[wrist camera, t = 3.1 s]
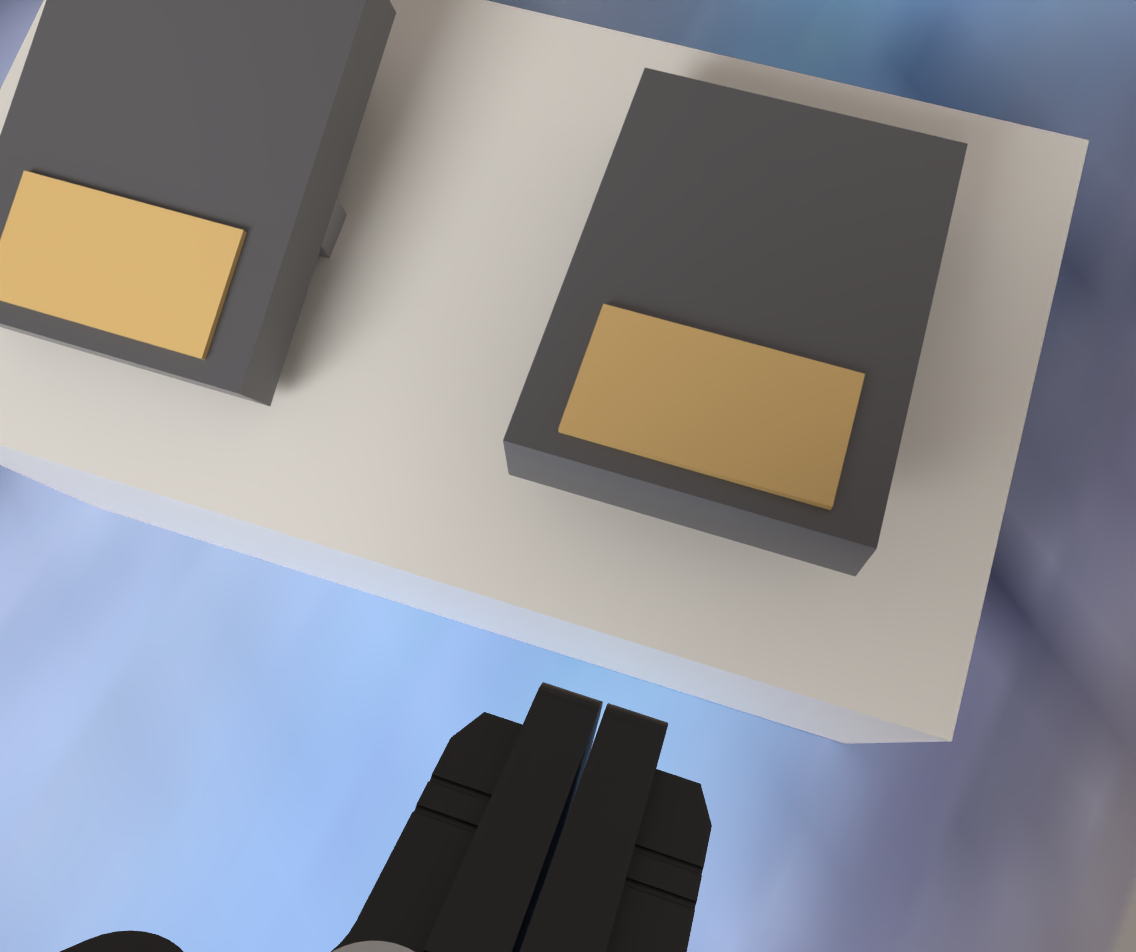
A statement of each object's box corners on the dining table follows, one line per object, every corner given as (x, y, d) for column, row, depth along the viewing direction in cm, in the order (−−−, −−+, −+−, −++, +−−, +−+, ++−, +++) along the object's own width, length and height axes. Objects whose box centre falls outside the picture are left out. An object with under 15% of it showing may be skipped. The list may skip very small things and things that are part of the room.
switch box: (95, 507, 31) (-177, 386, 21) (246, 149, 34) (72, -117, 23) (844, 743, 28) (963, 740, 18) (947, 331, 31) (1104, 120, 20)
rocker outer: (508, 474, 18) (501, 436, 17) (641, 119, 21) (645, 61, 20) (854, 576, 18) (879, 545, 16) (943, 193, 20) (970, 138, 19)
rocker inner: (-10, 324, 21) (-64, 304, 20) (118, -53, 22) (74, -102, 20) (270, 406, 20) (236, 392, 19) (396, 12, 21) (373, -33, 19)
